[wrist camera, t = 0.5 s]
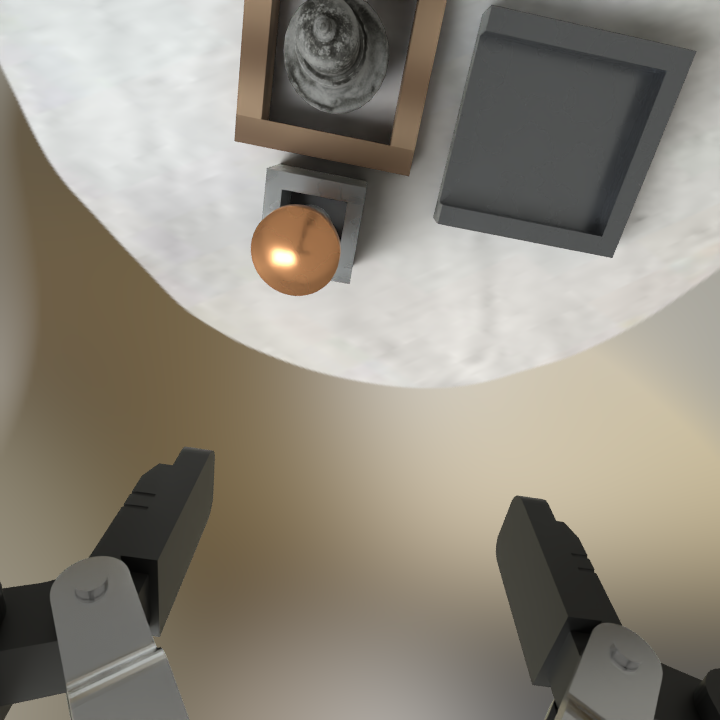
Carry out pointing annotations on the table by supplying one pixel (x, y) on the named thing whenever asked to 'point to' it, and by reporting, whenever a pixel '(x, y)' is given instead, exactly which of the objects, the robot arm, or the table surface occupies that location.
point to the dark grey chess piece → (336, 54)
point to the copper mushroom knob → (296, 249)
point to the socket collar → (320, 144)
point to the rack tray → (557, 130)
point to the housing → (321, 185)
